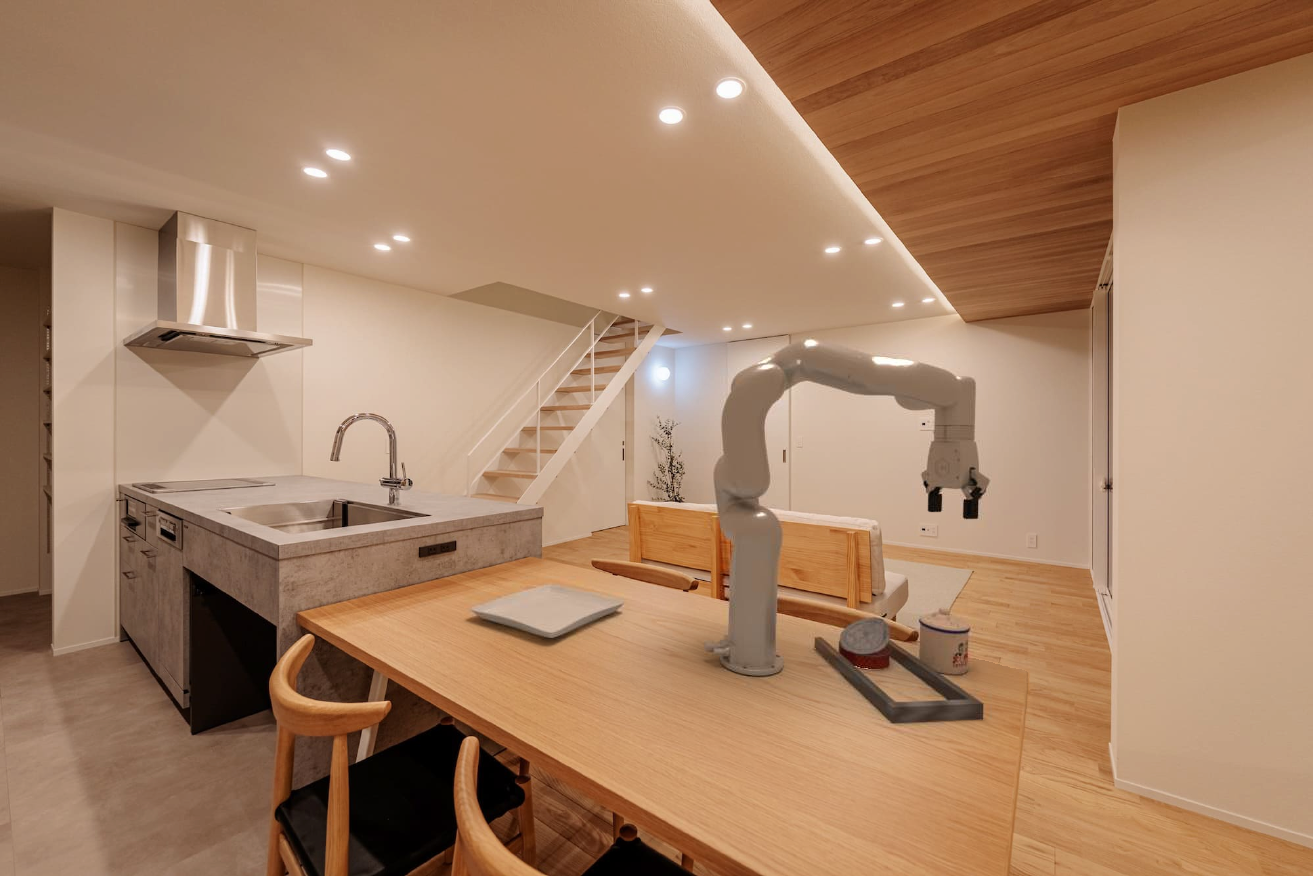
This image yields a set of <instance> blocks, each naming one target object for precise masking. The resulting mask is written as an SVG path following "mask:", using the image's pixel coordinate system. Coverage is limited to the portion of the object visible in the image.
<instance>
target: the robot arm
mask: <svg viewBox="0 0 1313 876" xmlns="http://www.w3.org/2000/svg"><path fill="white" fill-rule="evenodd" d="M803 382H811V383H815V384H818V385H822V386H825V387H829V388H832V389H837V390H840V391H843V392H847V393H850V394H853V395H859V396H860V395H861V396H862V395H863V396H888V397H889V396H890V397H893V398H894V400H895V402H896V403H897V405H898V406H900V407H901V408H903V409H905V410H908V411H925V410H926V411H927V410H934V422H933V423H934V426H933V427H934V429H933V432H932V433H933V440H931V442H930V446H929V450H928V455H927V464H926V470H924V471H922V472H921V474H920V476H921V479H922V482H923V486H924V488H925V493H926V494H927V511H928V512H929V513H941V512H943V511H942V510H943V494H942V493H941V492H942V490H943V489H951V490H959V489H960V490H961V491H962V493H963V495H964V497H965V498H963V501H962V502H963V503H962V504H963V505H962V518H963V519H964V520H977V519H979V506H980V505H979V500H982V498H983V495H985V494H986V492H987V488H988V486H989V485H990V481H991V480H990V479H989V478H988V477H987V476H986V475H984V474H983V473H981V472H980V465H979V463H980V462H979V452H978V446H977V441H975V438H976V437H975V434H976V433H975V432H976V425H975V424H976V397H977V394H976V393H977V391H976V390H977V388H976V387H977V385H976V380H975V379H974V378H973V377H971V376H967V375H955V374H953V373H952V372H951V371H950V370H949V371H948V370H946V369H945V368H940V367H939V366H938V367H937V366H934V365H930V364H928V363H923V362H920V361H917V360H916V361H915V360H910V359H909V360H908V359H902V358H897V357H895V358H894V357H888V356H884V355H883V356H882V355H875V354H870V353H865V352H862V351H858V350H855V349H852V348H848V347H845V346H842V345H838V344H835V343H831V342H829V341H825V340H821V339H818V338H810V337H809V338H803V339H800V340H798V341H795V342H794V343H791V344H789V345H786V346H785V347H783V348H781V349H779V350H778V351H776V352H774V353H772V354H771V355H769V356H767V357H765V358H763V359H762V360H760V361H757V362H756V363H754V364H752V365H751V366H748V367H746V368H744V369H743V370H741V371H739V372H738V373H737V374H736V375H735V376H734V378H732V381H731V384H730V393H729V394H728V395H727V398H726V400H725V402H724V406H723V409H722V412H721V413H722V414H721V422H720V423H721V424H720V425H721V438H722V440H721V441H722V451H723V454H722V455H721V456H720V457H719V458H718V460H717V461H716V463H715V466H714V468H713V486H714V495H715V502H716V510H717V515H718V523H719V526H720V529H721V532H722V534H723V535H724V537H726V538H727V539H728V540H729V541H730V542H731V543H733V546H732V547H733V548H732V553H731V558H730V566H729V584H728V585H729V588H728V589H729V590H728V593H729V594H728V621H727V622H728V626H727V627H728V629H727V634H724V635H723V639H719V641H704V644H703V645H704V647H703V648H704V652H706V653H707V652H708V653H710V652H711V653H713V656H719V661H720V663H721V664H722V665H723V667H725V668H726V669H727V670H730V671H732V672H735V673H738V674H741V675H747V676H758V677H759V676H770V675H774V674H777V673H779V672H781V670H783V668H784V658H783V656H782V655H780V653H778V652H776V651H777V650H776V649H777V622H778V621H777V619H778V618H777V617H778V614H777V613H778V612H777V611H778V580H779V579H778V578H779V575H778V574H779V562H780V556H781V551H782V546H783V539H784V538H783V535H784V534H783V532H784V531H783V527H782V524H781V521H780V520H779V517H778V516H777V515H776V514H775V513H774V512H773V511H771V510H770V509H768V508H767V507H765V506H762V505H760V501H759V498H760V497H763V495H764V494H766V492H767V491H768V490H769V487H770V485H771V472H770V471H771V470H770V465H769V458H768V449H767V444H766V432H765V430H766V429H765V427H766V426H765V424H766V419H767V415H768V413H769V411H770V410H771V408H772V406H773V405H774V404H775V403H776V402H778V401H779V400H780V399H781V398H782V397H783V396H784V394H785V391H787V390H789V389H791V388H792V387H794V386H795V385H798V384H800V383H803Z"/></svg>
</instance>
